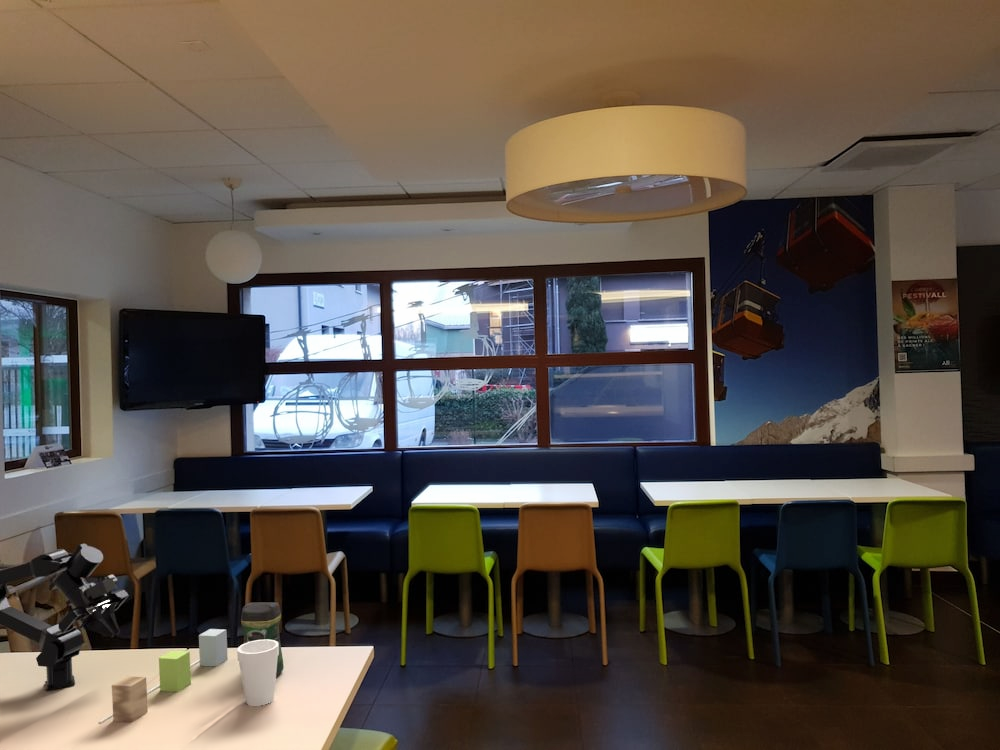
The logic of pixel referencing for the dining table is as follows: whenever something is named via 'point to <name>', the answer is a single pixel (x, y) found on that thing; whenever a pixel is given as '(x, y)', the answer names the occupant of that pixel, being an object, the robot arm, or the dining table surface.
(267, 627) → the coffee jar
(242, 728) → the dining table surface
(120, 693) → the brown wooden block
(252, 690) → the foam cup
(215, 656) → the blue-grey block
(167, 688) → the green block
